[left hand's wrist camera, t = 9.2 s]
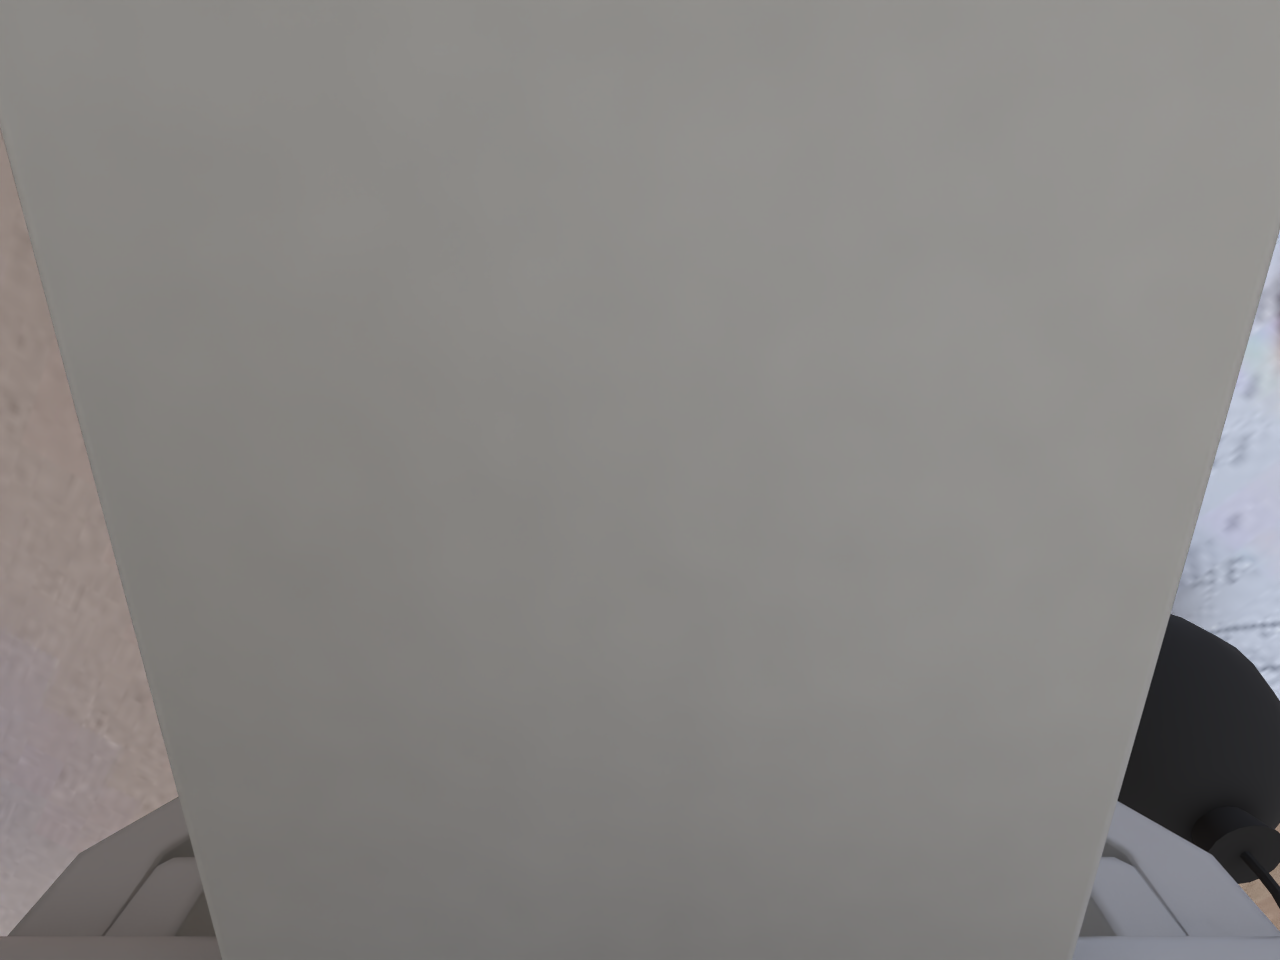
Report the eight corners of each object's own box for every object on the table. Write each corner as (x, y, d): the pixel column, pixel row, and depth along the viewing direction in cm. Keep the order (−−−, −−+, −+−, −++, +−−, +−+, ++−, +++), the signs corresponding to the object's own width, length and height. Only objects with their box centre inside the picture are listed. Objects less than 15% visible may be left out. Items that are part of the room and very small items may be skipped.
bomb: (1156, 532, 26) (1560, 791, 14) (1189, 709, 28) (1554, 1047, 17) (933, 608, 27) (1147, 904, 15) (984, 772, 29) (1200, 1129, 18)
